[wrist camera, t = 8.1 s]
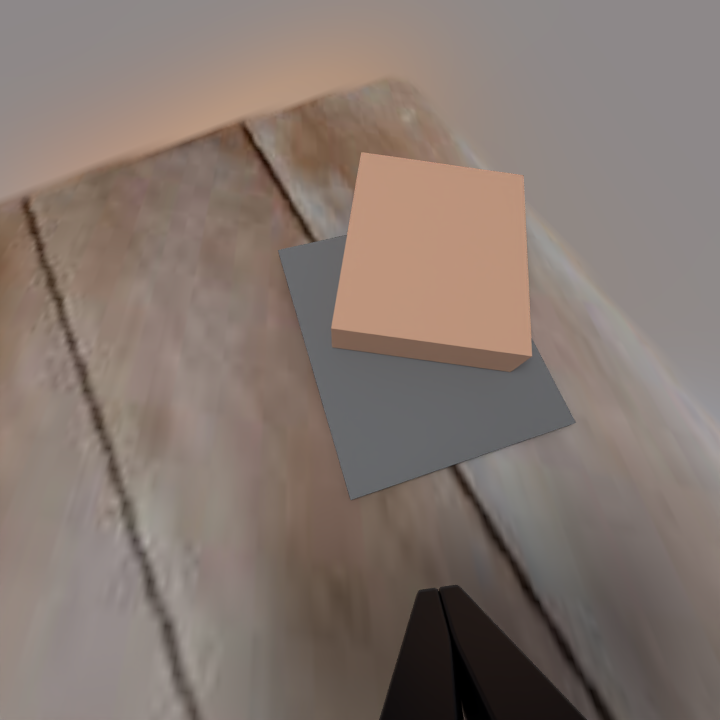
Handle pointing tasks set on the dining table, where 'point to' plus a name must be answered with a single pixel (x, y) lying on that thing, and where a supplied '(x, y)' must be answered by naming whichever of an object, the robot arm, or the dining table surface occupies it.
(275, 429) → the dining table surface
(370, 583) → the dining table surface
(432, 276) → the block
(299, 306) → the mat
